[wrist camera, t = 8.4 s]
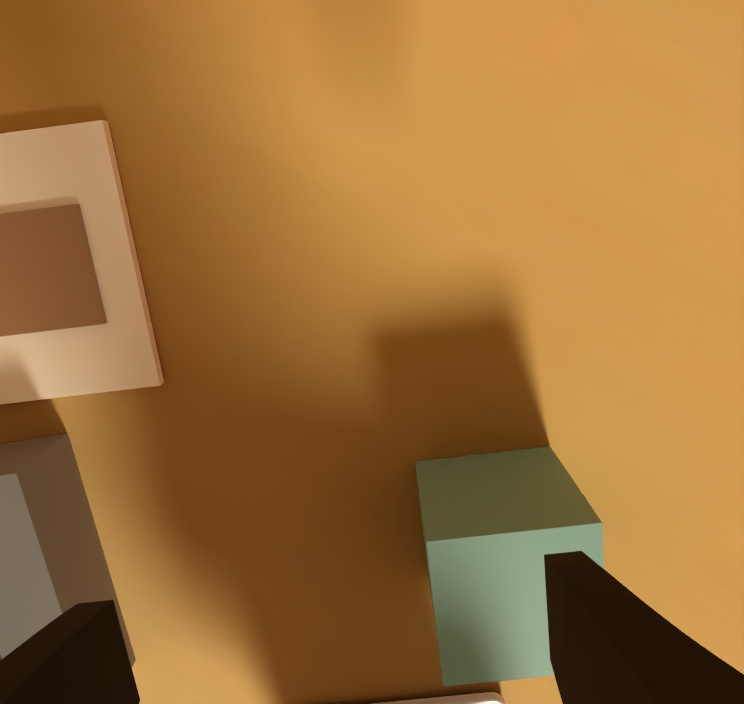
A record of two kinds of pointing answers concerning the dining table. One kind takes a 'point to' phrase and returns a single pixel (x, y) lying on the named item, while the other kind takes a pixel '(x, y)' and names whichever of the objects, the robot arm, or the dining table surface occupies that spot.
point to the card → (69, 269)
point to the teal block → (498, 557)
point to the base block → (46, 541)
